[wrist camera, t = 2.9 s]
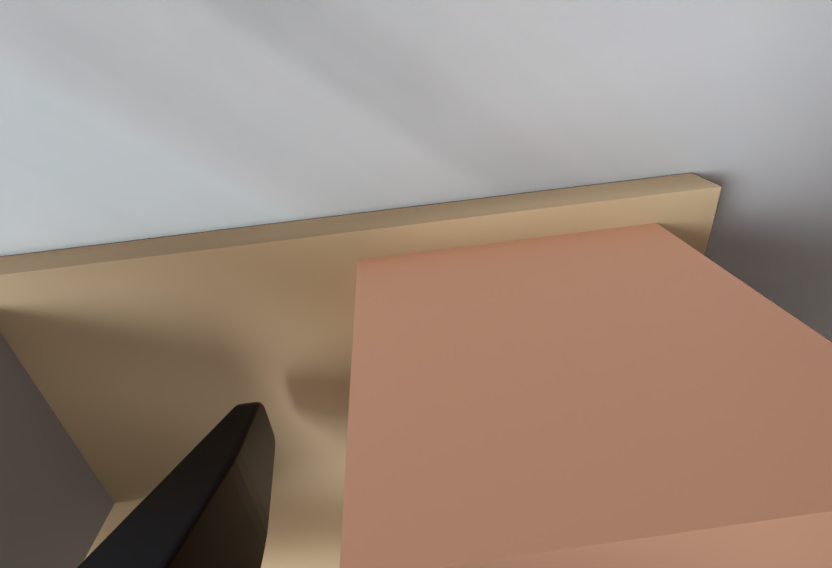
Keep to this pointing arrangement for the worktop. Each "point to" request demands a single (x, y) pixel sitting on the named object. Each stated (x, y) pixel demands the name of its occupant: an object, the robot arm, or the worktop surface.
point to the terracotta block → (582, 411)
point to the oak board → (260, 334)
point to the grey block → (42, 480)
